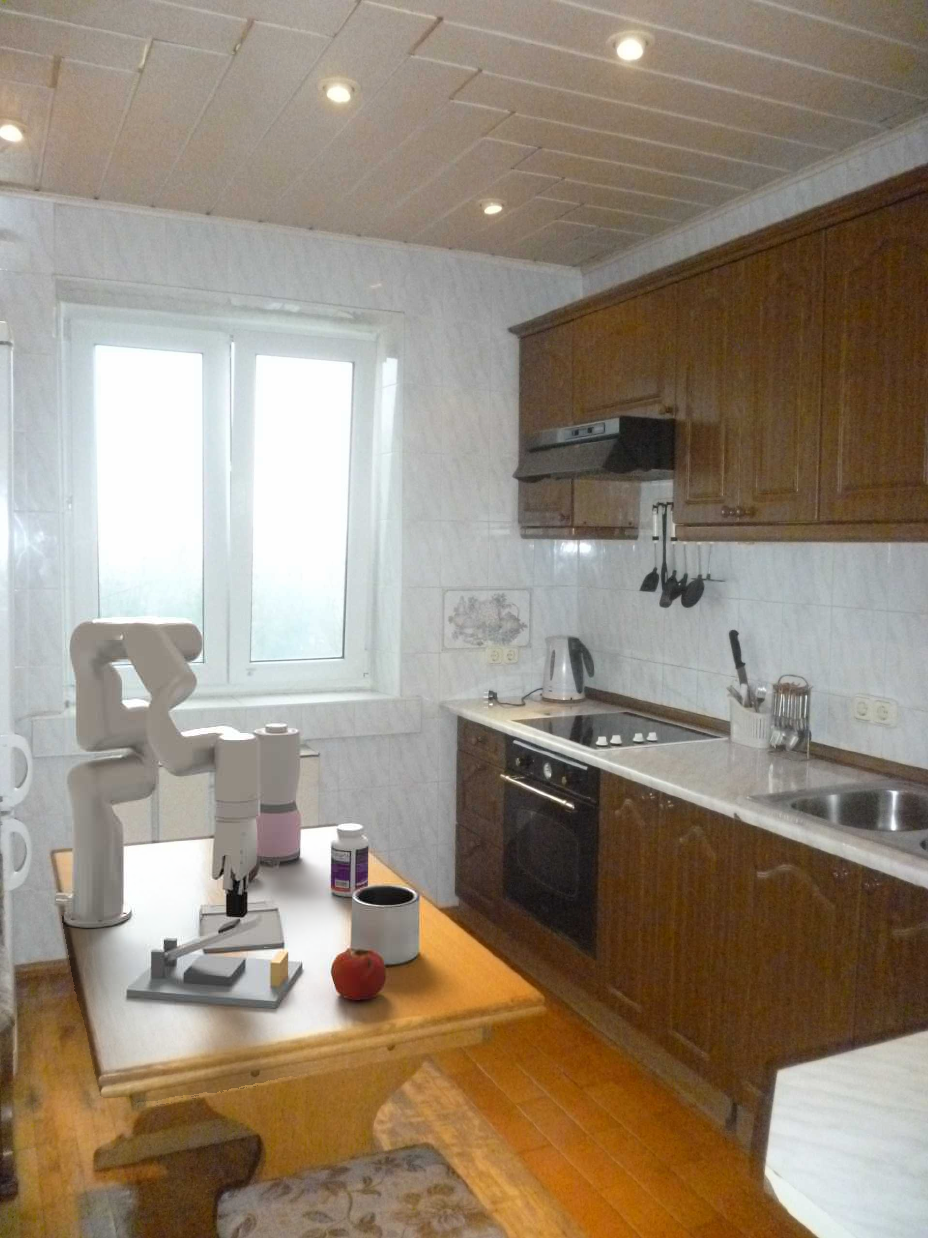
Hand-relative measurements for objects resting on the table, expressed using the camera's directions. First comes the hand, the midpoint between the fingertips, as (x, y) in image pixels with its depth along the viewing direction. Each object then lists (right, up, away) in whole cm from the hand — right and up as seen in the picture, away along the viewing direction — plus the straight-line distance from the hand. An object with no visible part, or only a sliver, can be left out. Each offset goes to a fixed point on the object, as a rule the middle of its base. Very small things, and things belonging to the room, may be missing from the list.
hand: (236, 915), depth 174 cm
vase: (-11, -8, +55) cm, 57 cm away
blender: (-6, -7, +72) cm, 72 cm away
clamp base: (-4, -12, +1) cm, 12 cm away
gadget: (-5, -11, +27) cm, 29 cm away
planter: (+24, -12, +15) cm, 31 cm away
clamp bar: (-5, -5, +1) cm, 7 cm away
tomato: (+21, -13, -2) cm, 24 cm away
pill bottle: (+14, -9, +49) cm, 51 cm away
